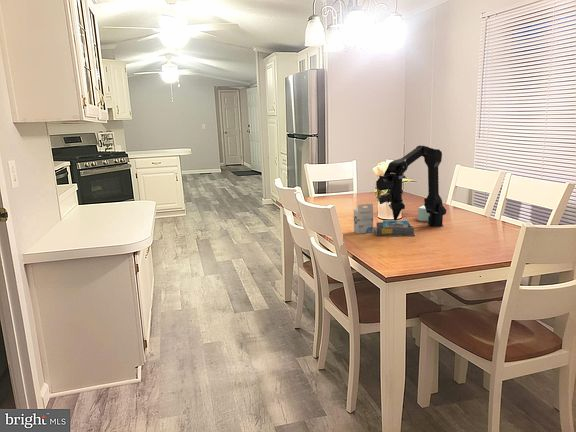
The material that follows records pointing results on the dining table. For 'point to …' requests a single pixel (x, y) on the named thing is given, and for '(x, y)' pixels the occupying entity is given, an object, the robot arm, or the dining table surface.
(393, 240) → the dining table surface
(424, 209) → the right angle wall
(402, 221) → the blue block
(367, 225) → the ink box
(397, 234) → the rack
